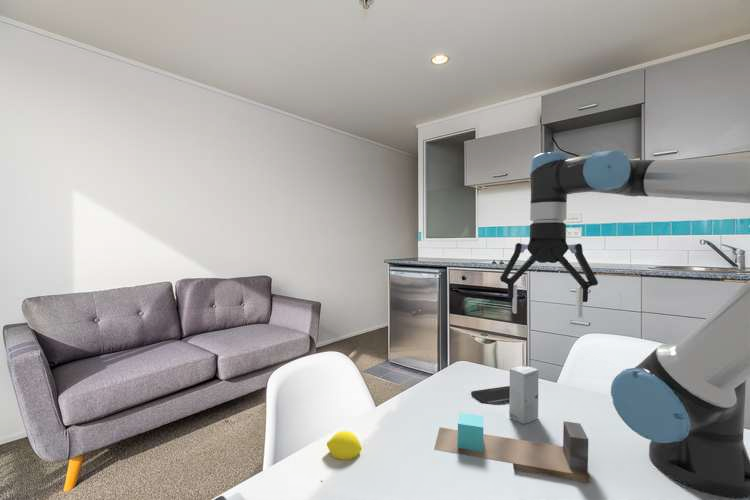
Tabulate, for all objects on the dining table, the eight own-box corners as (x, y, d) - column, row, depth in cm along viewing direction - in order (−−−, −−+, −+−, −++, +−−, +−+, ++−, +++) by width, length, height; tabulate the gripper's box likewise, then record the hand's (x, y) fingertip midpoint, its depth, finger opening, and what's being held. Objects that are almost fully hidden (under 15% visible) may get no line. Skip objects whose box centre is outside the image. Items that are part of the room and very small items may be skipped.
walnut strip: (577, 454, 74) (578, 419, 74) (589, 483, 65) (590, 443, 65) (439, 432, 82) (439, 401, 82) (434, 455, 73) (434, 420, 73)
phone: (532, 396, 100) (485, 403, 95) (532, 400, 100) (485, 407, 95) (513, 385, 107) (469, 391, 103) (513, 389, 107) (469, 395, 103)
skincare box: (524, 425, 86) (525, 374, 85) (507, 417, 90) (508, 368, 89) (539, 418, 89) (540, 369, 89) (523, 410, 93) (523, 364, 93)
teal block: (483, 438, 77) (483, 415, 77) (483, 452, 73) (483, 427, 72) (459, 435, 79) (459, 412, 79) (457, 447, 74) (457, 423, 74)
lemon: (360, 454, 75) (364, 428, 75) (358, 470, 69) (362, 443, 69) (327, 448, 75) (330, 423, 75) (322, 465, 70) (326, 437, 69)
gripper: (604, 222, 83) (602, 314, 84) (490, 223, 90) (489, 307, 91) (616, 220, 76) (613, 321, 76) (490, 221, 83) (489, 313, 84)
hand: (545, 314), depth 84 cm, fingers open, 13 cm apart
